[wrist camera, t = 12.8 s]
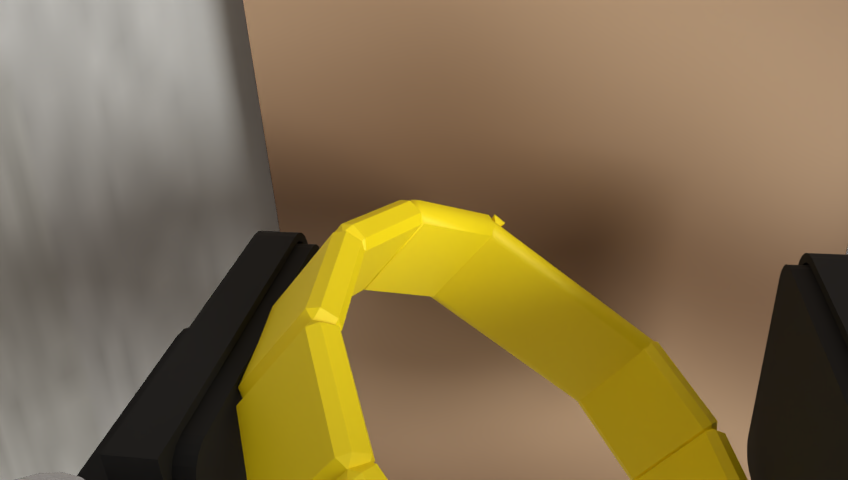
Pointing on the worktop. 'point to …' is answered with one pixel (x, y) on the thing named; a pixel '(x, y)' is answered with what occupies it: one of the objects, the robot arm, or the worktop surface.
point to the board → (561, 191)
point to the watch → (492, 316)
